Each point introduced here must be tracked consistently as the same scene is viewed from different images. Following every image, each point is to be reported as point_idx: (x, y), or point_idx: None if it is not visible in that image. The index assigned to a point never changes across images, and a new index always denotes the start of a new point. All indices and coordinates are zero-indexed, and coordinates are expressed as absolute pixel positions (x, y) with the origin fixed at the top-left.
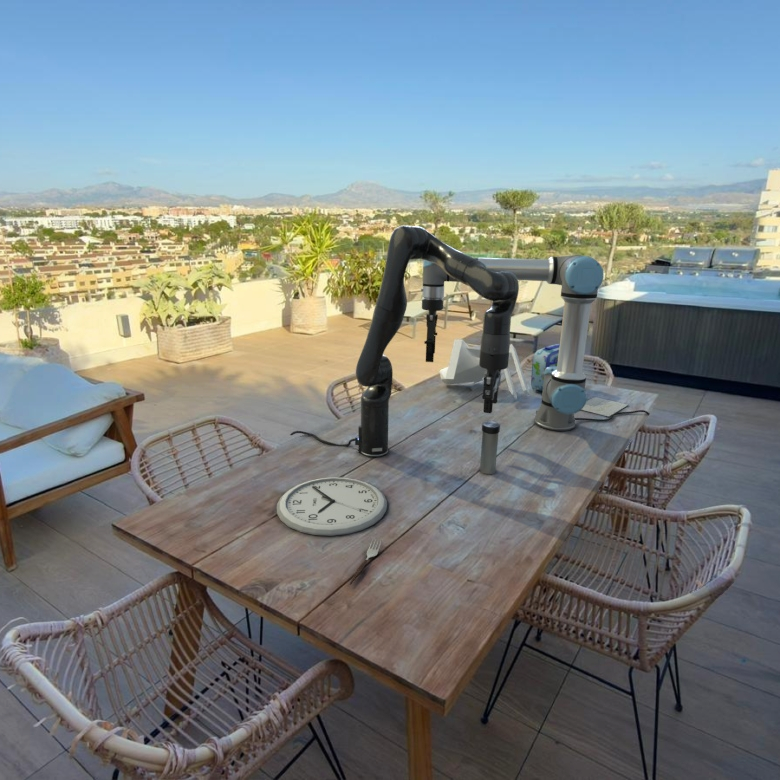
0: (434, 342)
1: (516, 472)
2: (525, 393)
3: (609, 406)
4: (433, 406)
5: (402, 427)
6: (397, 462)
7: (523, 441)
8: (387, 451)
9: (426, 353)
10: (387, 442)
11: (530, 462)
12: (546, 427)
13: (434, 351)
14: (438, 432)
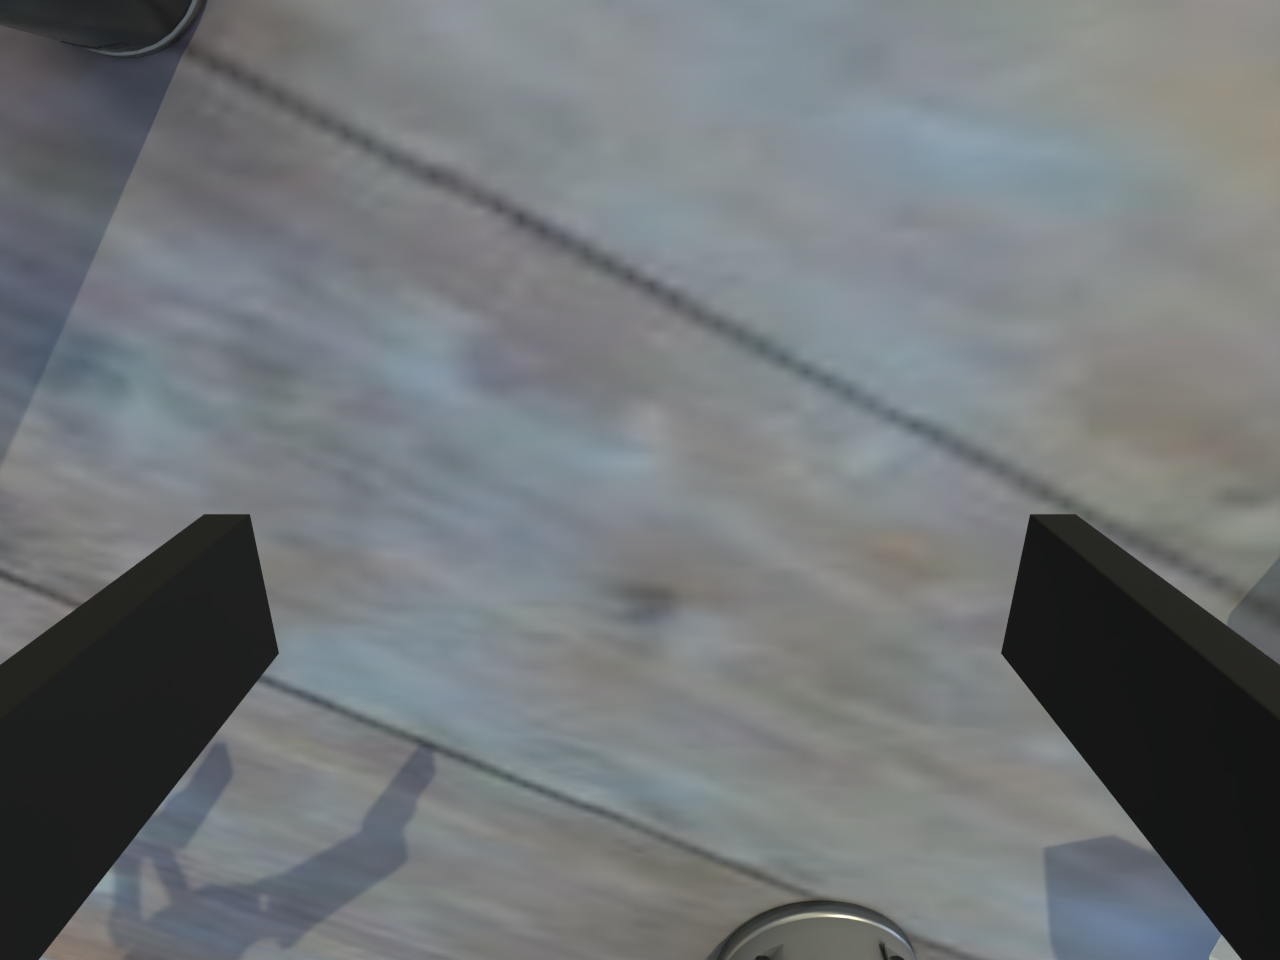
0: (1159, 825)
1: None
2: (1216, 945)
3: None
4: (1146, 344)
5: (647, 120)
6: (6, 151)
7: (549, 827)
8: (100, 53)
9: (76, 624)
10: (51, 37)
11: (295, 828)
12: (734, 942)
13: (1023, 670)
14: (593, 400)
